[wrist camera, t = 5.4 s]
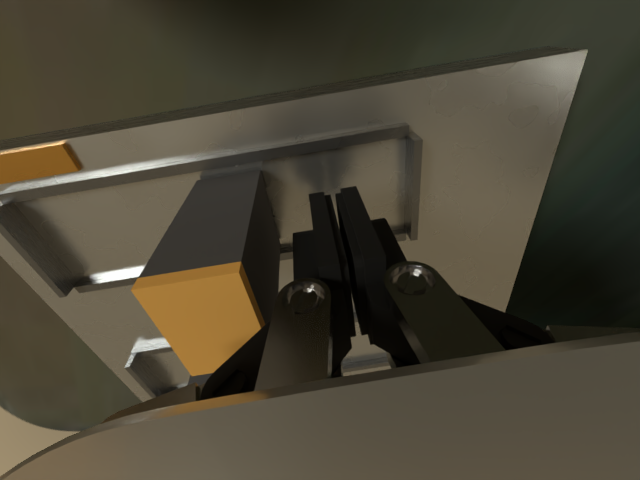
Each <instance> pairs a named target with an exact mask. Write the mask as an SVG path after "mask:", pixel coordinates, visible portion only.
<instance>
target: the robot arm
mask: <svg viewBox="0 0 640 480" xmlns="http://www.w3.org/2000/svg"><path fill="white" fill-rule="evenodd" d="M340 191H341V193H336V194H335V198H336V206H337V214H338V222H339V226H338V222H337V218H336V214H335V210H334V206H333V202H332V198H331V194H330V195H325V194H324V191H323V192H317V193H311V194H309V201H310V209H311V217H312V225H313V230H308V231H302V232H296V233H293V279H294V281H292V282H290V283H288V284H287V285H286V286H284V287H283V288H282V289H281V290H280V292H279V293H278V295H277V298H276V301H275V306H274V310H273V314H272V318H271V320H270V321H269V322H268V323H267V324H266V325H264V326H263V327H262V328H261V329H260V330H259V331H258V332H257V333H256V334H255V335H254V336H253V337H251V338H250V339H249V340H248V341H247V342H246V343H245V344H244V345H243V346H242V347H241V348H239V349H238V350H237V351H236V352H235V353H234V354H233V355H232V356H231V357H230V358H229V359H228V360H226V361H225V362H224V363H223V364H222V365H221V366H220V367H219V368H218V369H217V370H216V371H214V373H213V374H212V375H211V376H210V377H209V378H208V379H207V381H206V383H204V384H202V385H199V386H198V385H197V383H196V382H195V383H192V384H189V385H187V386H184V387H181V388H179V389H176V390H174V391H171V392H168V393H166V394H163V395H160V396H158V397H155V398H152V399H150V400H147V401H145V402H142V403H139V404H137V405H134V406H131V407H129V408H126V409H123V410H121V411H118V412H117V413H115V414H113V415H111V416H109V417H108V418H106V419H105V420H104V421H103V422H102V423H101V424H99V425H96V426H94V427H91V428H89V429H86V430H84V431H81V432H79V433H76V434H74V435H71V436H69V437H67V438H65V439H63V440H61V441H59V442H57V443H55V444H53V445H51V446H49V447H47V448H46V449H44V450H42V451H40V452H38V453H36V454H34V455H32V456H31V457H29V458H28V459H26V460H24V461H23V462H21V463H20V464H18V465H17V466H15V467H14V468H12V469H11V470H9V471H8V472H6V473H5V474H3V475H2V476H0V480H640V329H638V328H617V327H586V326H556V325H547V328H546V330H542V329H541V328H539V327H538V326H536V325H534V324H532V323H530V322H528V321H525V320H523V319H520V318H518V317H515V316H513V315H510V314H507V313H505V312H502V311H500V310H497V309H494V308H492V307H489V306H487V305H484V304H481V303H479V302H476V301H474V300H471V299H468V298H466V297H463V296H461V295H458V294H457V293H456V292H455V291H454V290H453V289H452V288H451V287H450V285H449V284H448V283H447V282H446V281H445V280H444V278H443V277H442V276H441V275H440V274H439V273H438V272H437V271H436V270H435V269H434V268H433V267H431V266H429V265H427V264H425V263H421V262H417V261H407V260H406V258H405V256H404V254H403V252H402V250H401V248H400V246H399V244H398V242H397V240H396V238H395V236H394V234H393V232H392V230H391V228H390V226H389V224H388V222H387V220H386V219H385V218H380V219H374V220H371V219H370V217H369V215H368V212H367V210H366V208H365V205H364V203H363V201H362V198H361V196H360V194H359V191H358V189H357V187H356V186H353V187H347V188H341V189H340ZM351 294H352V295H351ZM352 298H353V302H354V307H355V311H356V315H357V319H358V323H359V328H360V332H361V335H368V338H369V341H370V345H373V344H374V345H376V346H377V347H379V348H381V349H383V350H384V351H385V354H386V357H387V360H388V362H389V364H390V367H391V369H386V370H380V371H374V372H368V373H361V374H355V375H349V376H343V363H342V360H343V359H344V357H345V356H346V355H347V354H348V352H349V351H350V350H351V349H352V344H351V337H355V336H356V330H355V321H354V312H353V303H352Z"/></svg>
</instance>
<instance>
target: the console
mask: <svg viewBox="0 0 640 480" xmlns="http://www.w3.org/2000/svg"><path fill="white" fill-rule="evenodd" d="M587 52H588V50H587V49H575V48H563V47H550V46H547V47H541V48H535V49H529V50H524V51H518V52H512V53H506V54H500V55H495V56H489V57H483V58H477V59H471V60H466V61H460V62H454V63H448V64H442V65H437V66H431V67H425V68H419V69H413V70H408V71H402V72H396V73H390V74H384V75H379V76H373V77H367V78H361V79H355V80H350V81H344V82H338V83H332V84H326V85H321V86H315V87H309V88H303V89H297V90H292V91H286V92H280V93H274V94H268V95H263V96H257V97H251V98H245V99H239V100H234V101H228V102H222V103H216V104H210V105H205V106H199V107H193V108H187V109H182V110H176V111H170V112H164V113H158V114H153V115H147V116H141V117H135V118H129V119H124V120H118V121H112V122H106V123H100V124H95V125H89V126H83V127H77V128H71V129H66V130H60V131H54V132H48V133H42V134H37V135H31V136H25V137H19V138H13V139H8V140H2V141H0V256H1V257H2V258H3V259H4V260H5V261H6V262H7V263H8V264H9V265H10V266H11V267H12V268H13V269H14V270H15V271H16V272H17V273H18V274H19V275H20V276H21V277H22V278H23V279H24V280H25V281H26V282H27V283H28V284H29V285H30V286H31V287H32V289H33V290H34V291H35V292H36V293H37V294H38V295H39V296H40V297H41V298H42V299H43V300H44V301H45V302H46V303H47V304H48V305H49V306H50V307H51V308H52V309H53V310H54V311H55V312H56V313H57V314H58V315H59V316H60V317H61V318H62V319H63V320H64V322H65V323H66V324H67V325H68V326H69V327H70V328H71V329H72V330H73V331H74V332H75V333H76V334H77V335H78V336H79V337H80V338H81V339H82V340H83V341H84V342H85V343H86V344H87V345H88V346H89V347H90V348H91V349H92V350H93V351H94V352H95V354H96V355H97V356H98V357H99V358H100V359H101V360H102V361H103V362H104V363H105V364H106V365H107V366H108V367H109V368H110V369H111V370H112V371H113V372H114V373H115V374H116V375H117V376H118V377H119V378H120V379H121V380H122V381H123V382H124V383H125V384H126V385H127V387H128V388H129V389H130V390H131V391H132V392H133V393H134V394H135V395H136V396H137V397H138V398H139V399H140V400H141V401H142V402H145V401H147V400H150V399H152V398H155V397H158V396H160V395H163V394H166V393H168V392H171V391H174V390H176V389H179V388H181V387H184V386H187V385H188V381H189V378H190V373H189V372H188V370H187V369H186V367H185V366H184V365H183V363H182V362H181V360H180V359H179V358H178V356H177V355H176V353H175V352H174V351H173V349H172V348H171V346H170V345H169V344H168V342H167V341H166V339H165V338H164V336H163V335H162V334H161V332H160V331H159V329H158V328H157V327H156V325H155V324H154V322H153V321H152V320H151V318H150V317H149V315H148V314H147V313H146V311H145V310H144V308H143V307H142V305H141V304H140V303H139V301H138V300H137V298H136V297H135V296H134V294H133V293H132V291H131V289H132V287H133V285H134V284H135V282H136V280H137V279H138V277H139V275H140V274H141V272H142V270H143V269H144V267H145V265H146V264H147V262H148V260H149V259H150V257H151V255H152V254H153V252H154V251H155V249H156V247H157V246H158V244H159V242H160V241H161V239H162V237H163V236H164V234H165V232H166V231H167V229H168V227H169V226H170V224H171V222H172V221H173V219H174V217H175V216H176V214H177V213H178V211H179V209H180V208H181V206H182V204H183V203H184V201H185V199H186V198H187V196H188V194H189V193H190V191H191V189H192V188H193V186H194V184H195V183H196V181H197V180H202V179H208V178H214V177H220V176H226V175H232V174H238V173H244V172H250V171H256V170H261V174H262V177H263V181H264V185H265V188H266V192H267V196H268V199H269V203H270V207H271V210H272V214H273V218H274V222H275V225H276V229H277V233H278V236H279V240H280V244H281V246H280V268H279V289H278V293H279V292H280V290H281V289H282V288H283V287H284V286H286V285H287V284H288V283H290V282H292V281H294V279H293V233H296V232H302V231H308V230H313V225H312V217H311V209H310V201H309V194H311V193H317V192H323V191H324V194H325V195H330V194H331V198H332V202H333V206H334V210H335V214H336V218H337V222H338V214H337V206H336V198H335V194H336V193H341V191H340V189H341V188H347V187H353V186H356V187H357V189H358V191H359V194H360V196H361V198H362V201H363V203H364V205H365V208H366V210H367V212H368V215H369V217H370V219H371V220H374V219H380V218H385V219H386V220H387V222H388V224H389V226H390V228H391V230H392V232H393V234H394V236H395V238H396V240H397V242H398V244H399V246H400V248H401V250H402V252H403V254H404V256H405V258H406V260H407V261H417V262H421V263H425V264H427V265H429V266H431V267H433V268H434V269H435V270H436V271H437V272H438V273H439V274H440V275H441V276H442V277H443V278H444V280H445V281H446V282H447V283H448V284H449V285H450V287H451V288H452V289H453V290H454V291H455V292H456V293H457V294H458V295H461V296H463V297H466V298H468V299H471V300H474V301H476V302H479V303H481V304H484V305H487V306H489V307H492V308H494V309H497V310H500V311H502V312H505V311H506V308H507V305H508V301H509V298H510V295H511V292H512V289H513V286H514V282H515V279H516V276H517V273H518V270H519V267H520V263H521V260H522V257H523V254H524V251H525V248H526V244H527V241H528V238H529V235H530V232H531V229H532V225H533V222H534V219H535V216H536V213H537V210H538V207H539V203H540V200H541V197H542V194H543V191H544V188H545V184H546V181H547V178H548V175H549V172H550V169H551V165H552V162H553V159H554V156H555V153H556V150H557V146H558V143H559V140H560V137H561V134H562V131H563V127H564V124H565V121H566V118H567V115H568V112H569V108H570V105H571V102H572V99H573V96H574V93H575V89H576V86H577V83H578V80H579V77H580V74H581V71H582V67H583V64H584V61H585V58H586V55H587ZM338 226H339V222H338ZM351 295H352V294H351ZM352 303H353V312H354V321H355V330H356V336H355V337H351V344H352V349H351V350H350V351H349V352H348V354H347V355H346V356H345V357H344V359H343V360H342V363H343V376H349V375H355V374H361V373H368V372H374V371H380V370H386V369H391V367H390V364H389V362H388V360H387V357H386V354H385V351H384V350H383V349H381V348H379V347H377V346H376V345H374V344H373V345H370V341H369V338H368V335H361V332H360V328H359V323H358V319H357V315H356V311H355V307H354V302H353V298H352Z"/></svg>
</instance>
